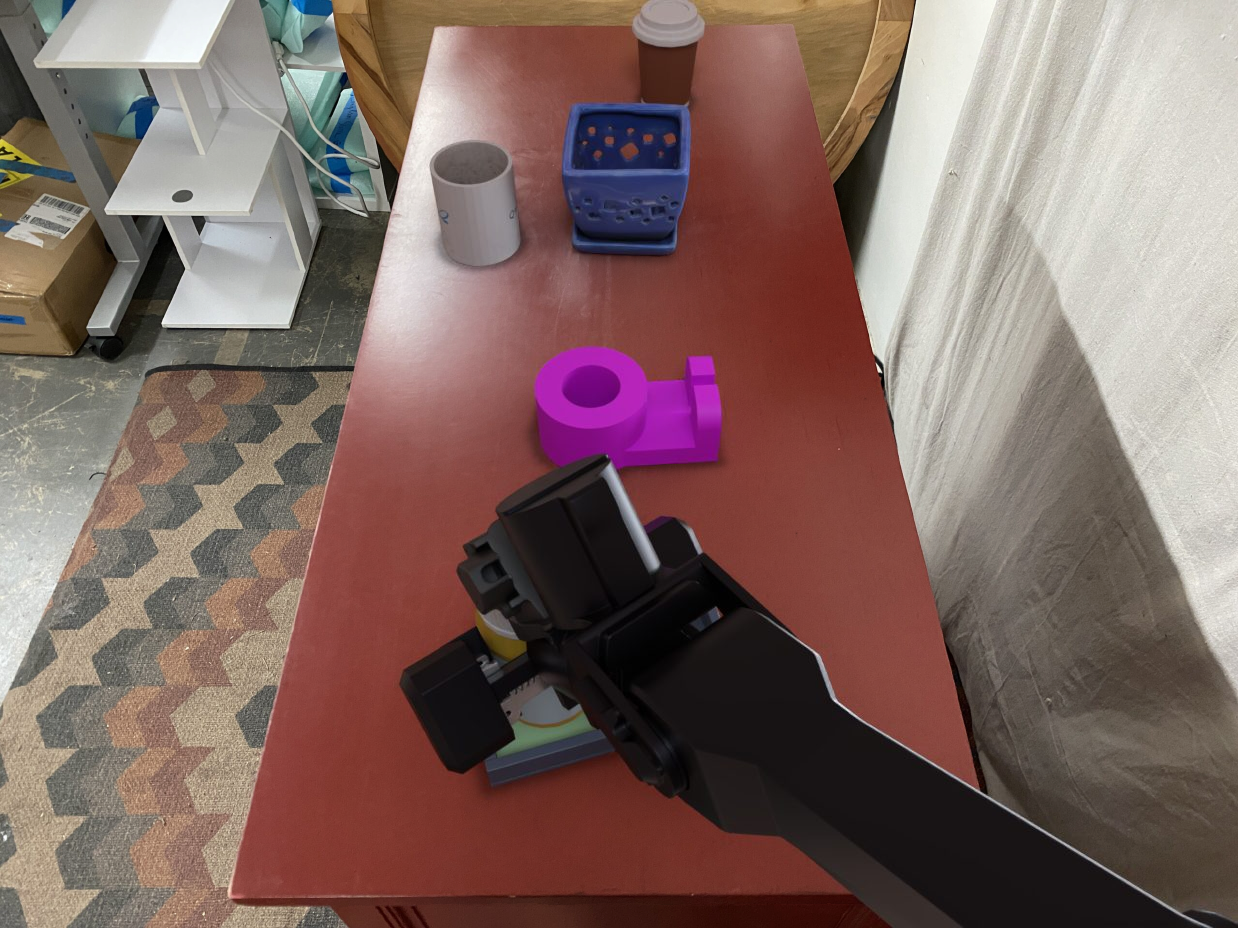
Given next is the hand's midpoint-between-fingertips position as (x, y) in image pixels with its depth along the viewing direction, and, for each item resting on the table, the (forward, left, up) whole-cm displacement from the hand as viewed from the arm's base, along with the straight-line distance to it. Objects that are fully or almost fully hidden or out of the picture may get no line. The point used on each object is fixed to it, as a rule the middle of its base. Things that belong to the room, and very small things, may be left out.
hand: (523, 615), depth 60 cm
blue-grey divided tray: (-1, -5, -11) cm, 13 cm away
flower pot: (+52, -23, -12) cm, 58 cm away
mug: (+56, -8, -12) cm, 58 cm away
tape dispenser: (+23, -14, -12) cm, 29 cm away
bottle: (-2, -1, -8) cm, 8 cm away
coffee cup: (+77, -36, -12) cm, 86 cm away
